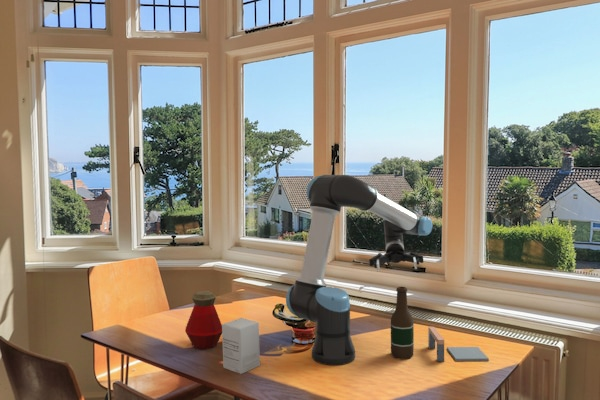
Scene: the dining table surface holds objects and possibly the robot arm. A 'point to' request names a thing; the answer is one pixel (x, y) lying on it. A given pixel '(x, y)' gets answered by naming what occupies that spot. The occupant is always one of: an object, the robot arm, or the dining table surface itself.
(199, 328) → the red faceted jar
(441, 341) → the hurdle bar
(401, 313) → the beer bottle
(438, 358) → the hurdle posts
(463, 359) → the grey mat
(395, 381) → the dining table surface
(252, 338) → the supplement box
